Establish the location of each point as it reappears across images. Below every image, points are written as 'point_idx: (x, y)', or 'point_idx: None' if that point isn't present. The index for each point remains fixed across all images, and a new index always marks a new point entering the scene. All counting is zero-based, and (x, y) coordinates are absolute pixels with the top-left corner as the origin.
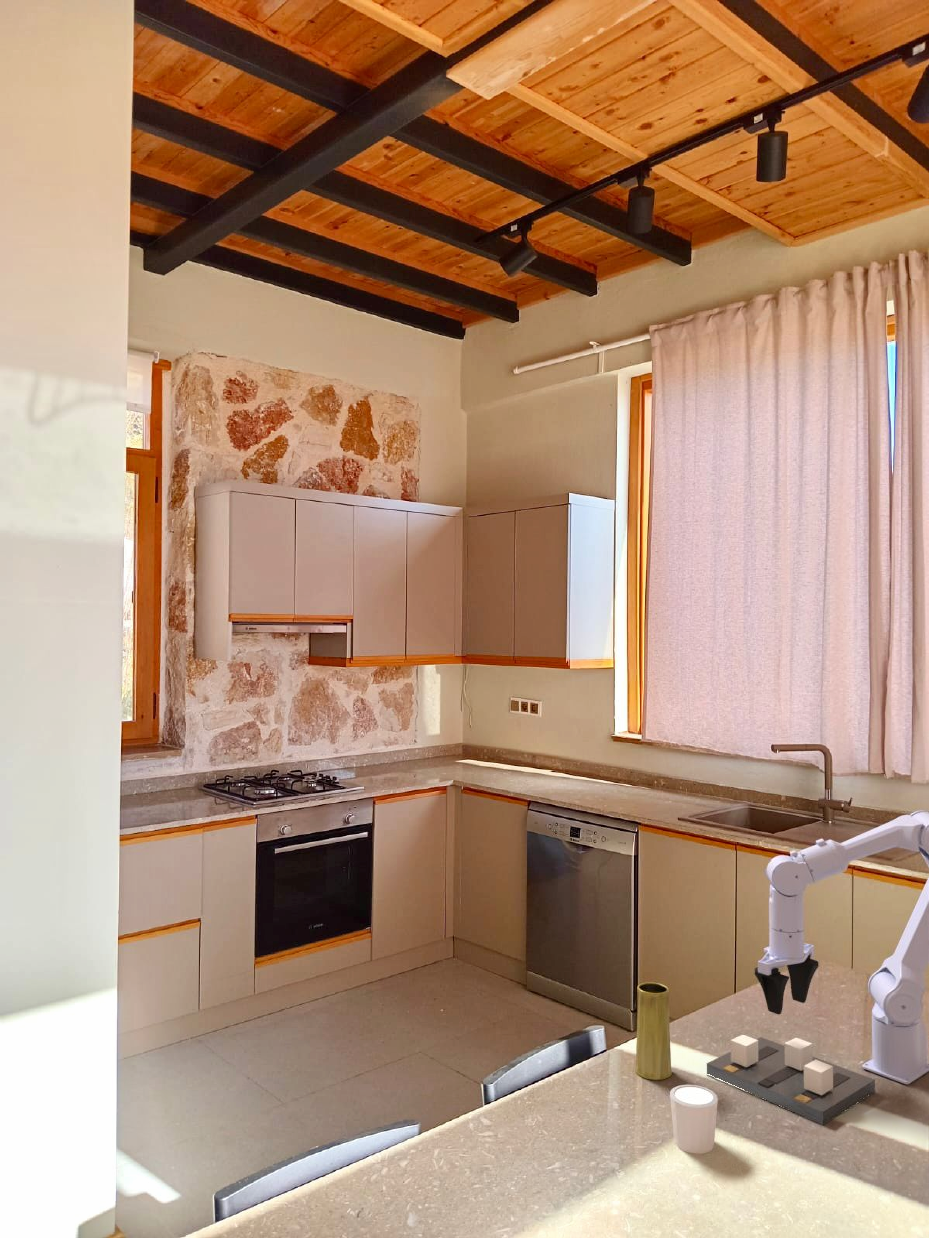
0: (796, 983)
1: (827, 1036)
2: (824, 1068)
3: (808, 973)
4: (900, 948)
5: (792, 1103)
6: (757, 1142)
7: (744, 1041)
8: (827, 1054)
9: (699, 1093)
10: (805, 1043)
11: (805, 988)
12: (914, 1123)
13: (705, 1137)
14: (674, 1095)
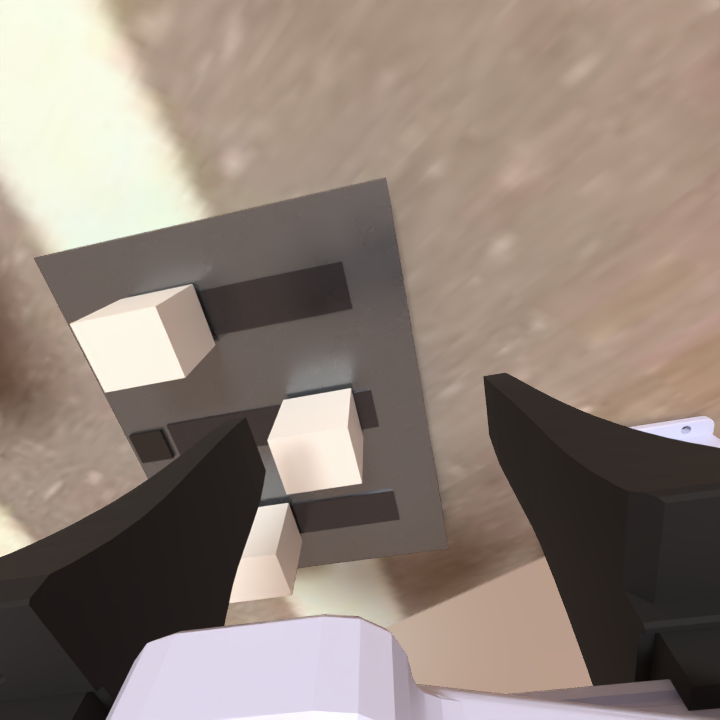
0: (527, 457)
1: (695, 227)
2: (257, 592)
3: (579, 632)
4: None
5: None
6: (32, 538)
7: (122, 360)
8: (545, 332)
9: None
10: (339, 473)
11: (523, 507)
12: (392, 617)
13: None
14: None
